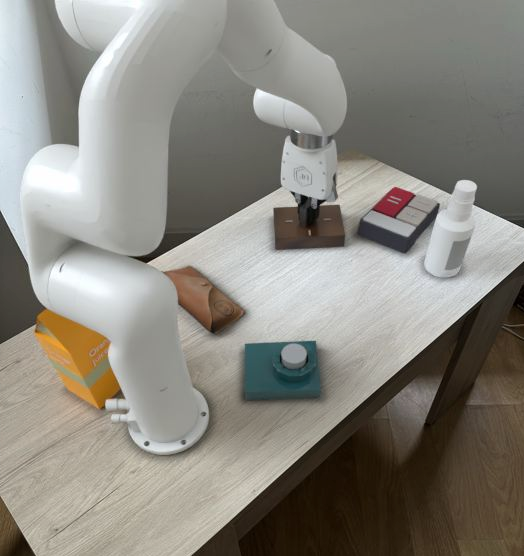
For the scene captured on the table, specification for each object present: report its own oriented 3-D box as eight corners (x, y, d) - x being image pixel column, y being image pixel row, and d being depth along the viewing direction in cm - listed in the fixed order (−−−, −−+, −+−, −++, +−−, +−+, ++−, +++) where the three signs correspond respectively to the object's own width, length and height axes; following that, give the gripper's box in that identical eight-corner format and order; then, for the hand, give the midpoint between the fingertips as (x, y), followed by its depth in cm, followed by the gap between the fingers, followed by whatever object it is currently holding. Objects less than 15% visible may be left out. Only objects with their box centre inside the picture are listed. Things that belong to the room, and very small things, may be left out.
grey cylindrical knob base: (245, 400, 83) (244, 386, 80) (245, 351, 89) (244, 336, 86) (320, 397, 83) (321, 383, 80) (315, 348, 89) (316, 333, 86)
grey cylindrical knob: (282, 370, 82) (281, 363, 81) (281, 350, 85) (280, 343, 83) (307, 369, 82) (307, 362, 81) (305, 349, 84) (305, 342, 83)
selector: (275, 249, 105) (274, 237, 103) (273, 219, 112) (273, 206, 109) (344, 246, 105) (345, 234, 103) (338, 216, 111) (339, 203, 109)
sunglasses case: (248, 310, 94) (231, 298, 89) (225, 341, 95) (206, 331, 89) (188, 263, 103) (169, 249, 97) (167, 291, 104) (146, 279, 98)
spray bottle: (460, 280, 98) (489, 199, 84) (423, 276, 99) (445, 196, 85) (459, 256, 102) (486, 175, 88) (423, 252, 103) (444, 172, 89)
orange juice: (66, 389, 86) (16, 306, 70) (104, 353, 90) (65, 267, 75) (100, 410, 83) (56, 328, 67) (137, 372, 87) (104, 287, 72)
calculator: (442, 200, 107) (409, 236, 99) (437, 217, 111) (405, 254, 103) (393, 183, 112) (359, 217, 104) (390, 201, 115) (356, 234, 107)
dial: (305, 228, 104) (306, 208, 101) (299, 226, 105) (299, 206, 101) (316, 214, 107) (317, 195, 103) (310, 212, 108) (311, 193, 104)
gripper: (262, 133, 92) (265, 218, 106) (342, 154, 87) (335, 241, 101) (282, 113, 96) (283, 198, 110) (360, 133, 91) (351, 219, 105)
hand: (308, 218), depth 106 cm, fingers closed
